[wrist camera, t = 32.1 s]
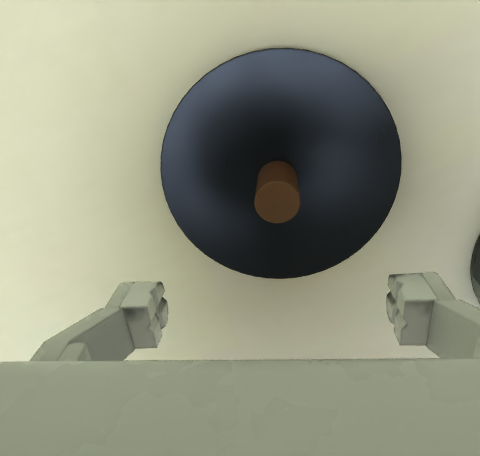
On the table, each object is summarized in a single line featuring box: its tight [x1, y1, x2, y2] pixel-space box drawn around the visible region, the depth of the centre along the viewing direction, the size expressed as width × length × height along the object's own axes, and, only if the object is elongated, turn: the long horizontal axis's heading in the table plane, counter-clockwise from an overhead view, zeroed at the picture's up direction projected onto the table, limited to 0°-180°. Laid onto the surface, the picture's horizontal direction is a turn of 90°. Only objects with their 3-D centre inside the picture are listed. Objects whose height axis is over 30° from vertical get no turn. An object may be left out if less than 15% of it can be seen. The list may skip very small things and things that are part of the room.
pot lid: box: [161, 48, 402, 279], centre depth 24 cm, size 16×16×5 cm
